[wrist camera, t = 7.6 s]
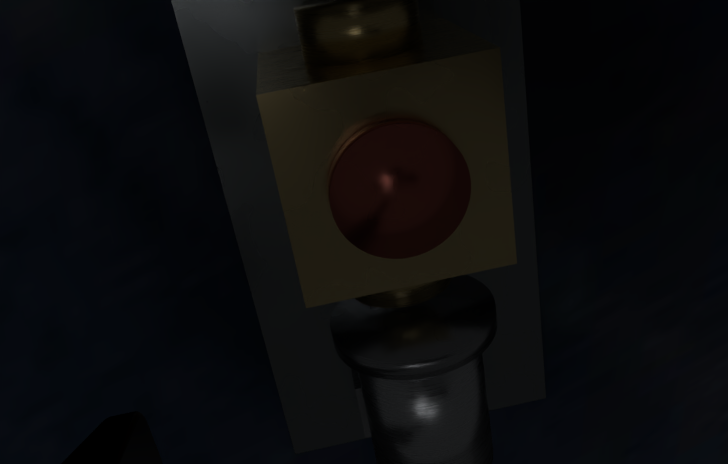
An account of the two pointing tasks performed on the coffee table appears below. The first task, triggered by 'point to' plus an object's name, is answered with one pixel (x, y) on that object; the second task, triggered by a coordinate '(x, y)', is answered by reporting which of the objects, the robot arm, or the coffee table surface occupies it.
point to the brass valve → (387, 151)
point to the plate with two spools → (350, 317)
